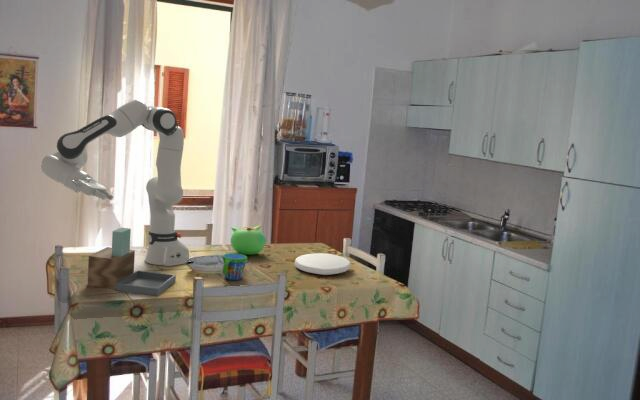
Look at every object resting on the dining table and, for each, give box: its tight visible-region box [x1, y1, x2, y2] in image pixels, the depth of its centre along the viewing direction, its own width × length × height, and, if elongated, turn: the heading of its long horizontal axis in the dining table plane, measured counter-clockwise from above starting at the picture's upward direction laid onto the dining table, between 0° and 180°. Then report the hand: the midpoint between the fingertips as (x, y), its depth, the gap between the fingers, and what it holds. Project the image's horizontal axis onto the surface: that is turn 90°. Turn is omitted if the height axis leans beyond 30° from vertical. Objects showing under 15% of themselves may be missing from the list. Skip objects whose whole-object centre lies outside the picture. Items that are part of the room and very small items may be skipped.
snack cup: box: [221, 252, 248, 281], centre depth 266 cm, size 16×10×10 cm
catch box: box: [115, 269, 177, 297], centre depth 244 cm, size 17×20×3 cm
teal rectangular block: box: [111, 227, 132, 257], centre depth 243 cm, size 4×8×10 cm, turn 174°
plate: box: [294, 252, 351, 276], centre depth 295 cm, size 28×6×27 cm
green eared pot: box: [230, 225, 267, 256], centre depth 310 cm, size 18×17×15 cm
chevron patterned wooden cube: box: [87, 246, 136, 290], centre depth 245 cm, size 12×16×12 cm
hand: (108, 198), depth 246 cm, fingers open, 8 cm apart
